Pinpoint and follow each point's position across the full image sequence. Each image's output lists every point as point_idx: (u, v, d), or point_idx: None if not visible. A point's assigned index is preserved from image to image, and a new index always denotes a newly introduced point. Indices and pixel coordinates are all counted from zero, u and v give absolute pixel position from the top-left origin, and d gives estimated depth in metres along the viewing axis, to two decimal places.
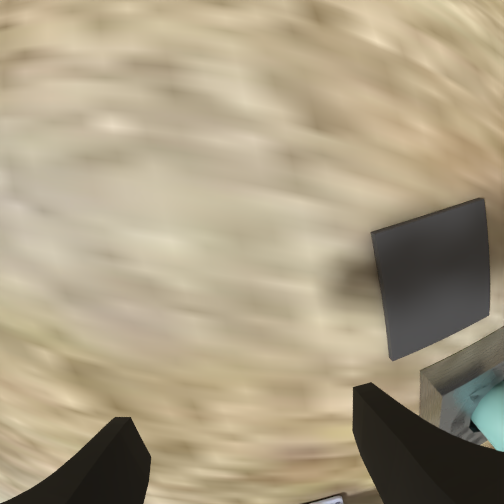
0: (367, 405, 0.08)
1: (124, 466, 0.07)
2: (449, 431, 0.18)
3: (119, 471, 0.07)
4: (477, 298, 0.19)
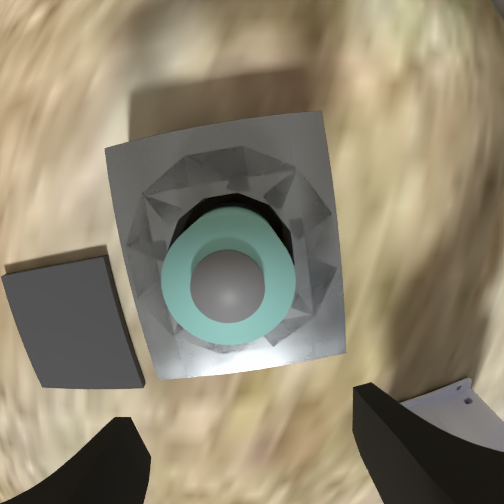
0: (367, 405, 0.08)
1: (124, 466, 0.07)
2: (242, 353, 0.16)
3: (119, 471, 0.07)
4: (81, 284, 0.18)
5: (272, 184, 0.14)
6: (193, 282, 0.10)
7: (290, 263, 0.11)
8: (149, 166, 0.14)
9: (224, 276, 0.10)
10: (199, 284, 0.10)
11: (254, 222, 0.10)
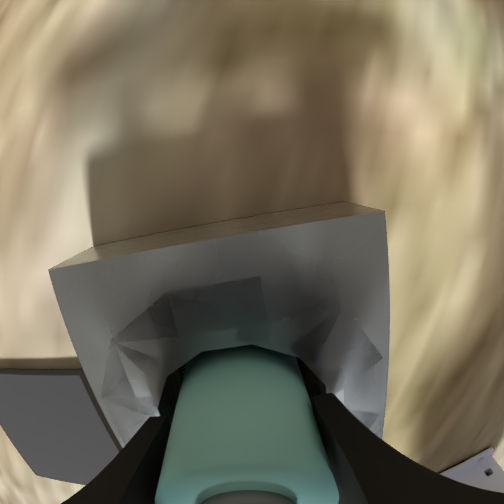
0: (321, 417, 0.07)
1: None
2: None
3: None
4: (59, 397, 0.13)
5: (303, 330, 0.09)
6: None
7: (334, 491, 0.06)
8: (115, 303, 0.09)
9: None
10: None
11: (288, 462, 0.06)
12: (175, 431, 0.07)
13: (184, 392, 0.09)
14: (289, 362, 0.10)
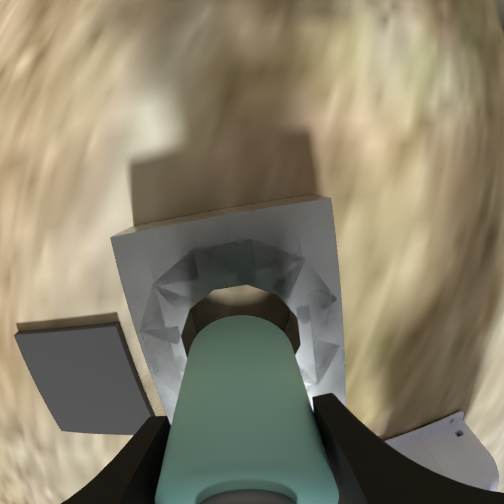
0: (321, 417, 0.07)
1: None
2: None
3: (159, 473, 0.07)
4: (95, 348, 0.18)
5: (280, 275, 0.14)
6: None
7: (334, 490, 0.06)
8: (158, 258, 0.14)
9: None
10: None
11: (288, 461, 0.06)
12: (175, 430, 0.07)
13: (184, 391, 0.09)
14: (289, 361, 0.10)
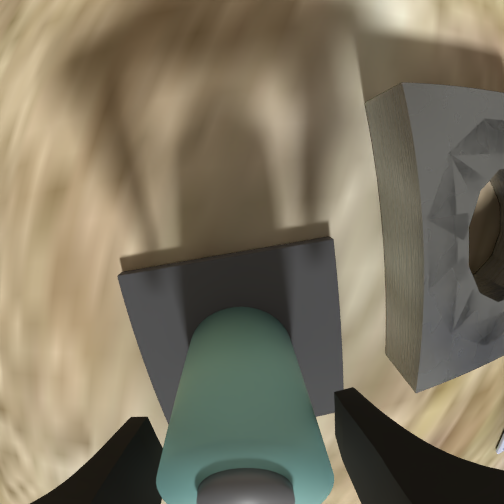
0: (346, 411, 0.08)
1: (142, 467, 0.07)
2: (498, 340, 0.11)
3: (138, 472, 0.07)
4: (289, 280, 0.13)
5: None
6: (201, 499, 0.06)
7: (330, 473, 0.06)
8: (455, 120, 0.09)
9: (242, 497, 0.06)
10: (209, 502, 0.06)
11: (288, 440, 0.06)
12: (178, 411, 0.08)
13: (187, 376, 0.09)
14: (288, 352, 0.11)
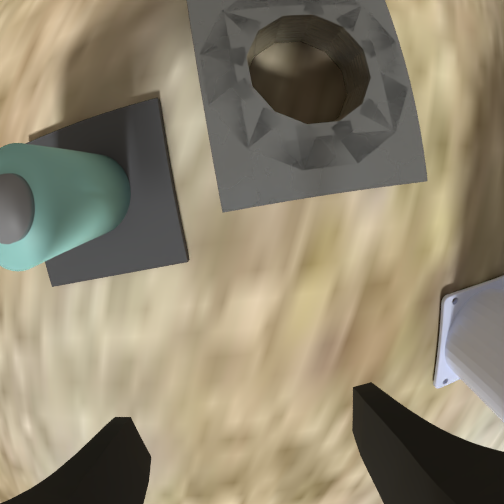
0: (367, 405, 0.08)
1: (124, 466, 0.07)
2: (325, 169, 0.14)
3: (119, 471, 0.07)
4: (125, 130, 0.15)
5: (342, 12, 0.12)
6: None
7: (54, 183, 0.09)
8: None
9: (1, 196, 0.08)
10: None
11: (30, 146, 0.08)
12: None
13: None
14: (100, 162, 0.13)
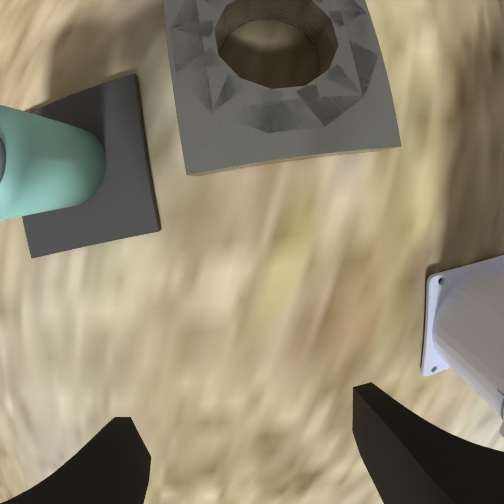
0: (367, 405, 0.08)
1: (124, 466, 0.07)
2: (290, 132, 0.13)
3: (119, 471, 0.07)
4: (103, 105, 0.15)
5: None
6: None
7: (24, 138, 0.08)
8: None
9: None
10: None
11: (7, 107, 0.08)
12: None
13: None
14: (76, 131, 0.13)
